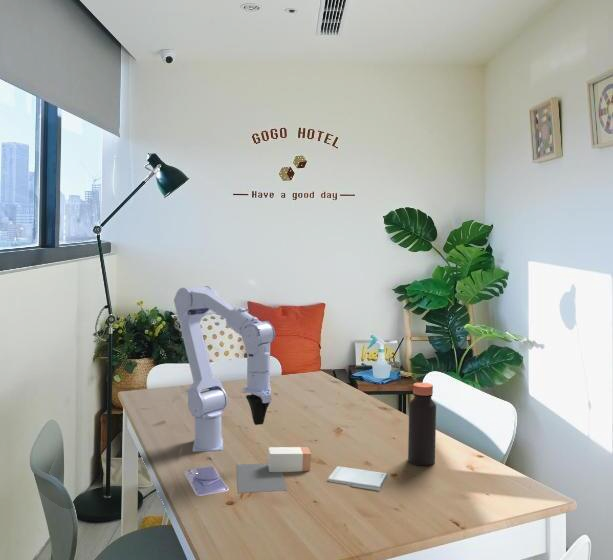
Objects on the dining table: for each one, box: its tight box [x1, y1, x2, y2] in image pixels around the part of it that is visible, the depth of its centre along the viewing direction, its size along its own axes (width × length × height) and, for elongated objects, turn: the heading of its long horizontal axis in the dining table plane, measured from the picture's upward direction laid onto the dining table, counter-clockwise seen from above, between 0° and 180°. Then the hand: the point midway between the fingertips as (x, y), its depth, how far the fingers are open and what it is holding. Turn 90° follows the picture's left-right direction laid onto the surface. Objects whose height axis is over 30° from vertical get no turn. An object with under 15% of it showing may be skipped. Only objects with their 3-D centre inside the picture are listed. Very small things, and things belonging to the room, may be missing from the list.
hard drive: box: [327, 466, 388, 492], centre depth 132 cm, size 2×8×12 cm
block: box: [267, 446, 312, 473], centre depth 138 cm, size 4×4×10 cm
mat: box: [236, 462, 288, 494], centre depth 133 cm, size 16×11×1 cm
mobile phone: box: [183, 466, 229, 497], centre depth 131 cm, size 8×1×15 cm
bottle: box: [407, 382, 437, 467], centre depth 143 cm, size 7×7×20 cm
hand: (258, 423), depth 140 cm, fingers closed
